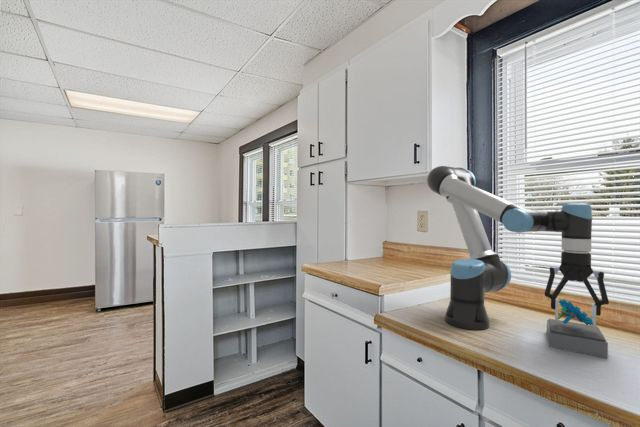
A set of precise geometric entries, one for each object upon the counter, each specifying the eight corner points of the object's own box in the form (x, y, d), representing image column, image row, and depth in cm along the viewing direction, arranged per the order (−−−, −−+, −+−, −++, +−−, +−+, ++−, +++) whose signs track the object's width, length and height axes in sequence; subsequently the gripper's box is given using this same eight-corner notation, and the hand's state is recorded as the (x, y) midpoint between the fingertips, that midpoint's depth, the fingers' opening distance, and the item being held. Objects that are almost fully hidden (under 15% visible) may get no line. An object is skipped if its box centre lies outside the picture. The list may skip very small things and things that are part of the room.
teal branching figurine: (602, 325, 98) (574, 299, 100) (587, 338, 98) (560, 313, 100) (578, 318, 108) (554, 295, 110) (565, 330, 109) (541, 307, 111)
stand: (548, 346, 102) (548, 330, 102) (546, 332, 114) (546, 317, 114) (607, 358, 94) (607, 341, 94) (598, 341, 107) (599, 326, 107)
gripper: (618, 253, 101) (616, 325, 101) (535, 248, 113) (534, 313, 113) (623, 255, 95) (622, 333, 95) (535, 250, 107) (534, 318, 107)
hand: (574, 322), depth 104 cm, fingers closed on teal branching figurine, 9 cm apart
